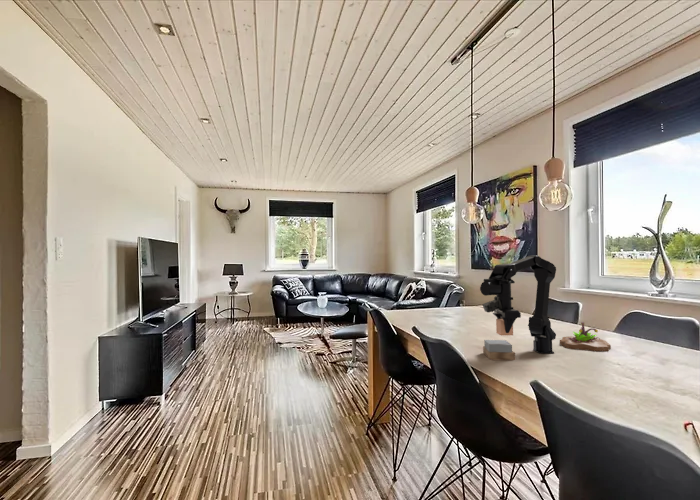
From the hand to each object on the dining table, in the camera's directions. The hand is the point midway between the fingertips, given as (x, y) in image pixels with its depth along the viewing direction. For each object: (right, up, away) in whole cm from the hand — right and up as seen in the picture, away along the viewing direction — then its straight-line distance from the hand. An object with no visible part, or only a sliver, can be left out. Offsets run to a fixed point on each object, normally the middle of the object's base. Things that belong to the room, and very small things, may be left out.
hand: (504, 331), depth 149 cm
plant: (+46, -11, +19) cm, 51 cm away
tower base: (-1, -12, +3) cm, 12 cm away
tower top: (-2, -8, +3) cm, 9 cm away
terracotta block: (0, -1, 0) cm, 1 cm away
